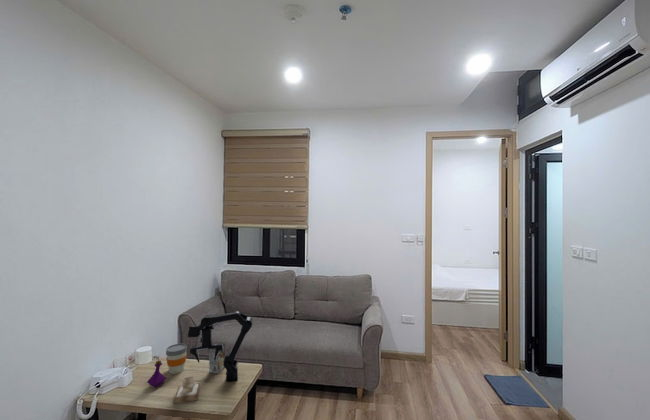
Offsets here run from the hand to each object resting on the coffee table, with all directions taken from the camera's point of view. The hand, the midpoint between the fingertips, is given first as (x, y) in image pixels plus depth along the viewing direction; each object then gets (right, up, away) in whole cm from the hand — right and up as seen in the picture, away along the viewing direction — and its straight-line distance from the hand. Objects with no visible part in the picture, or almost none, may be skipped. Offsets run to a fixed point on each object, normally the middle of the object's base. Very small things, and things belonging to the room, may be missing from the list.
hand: (206, 361), depth 188 cm
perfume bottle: (-29, -13, -4) cm, 32 cm away
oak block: (-5, -9, -15) cm, 18 cm away
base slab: (-5, -12, -15) cm, 20 cm away
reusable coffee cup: (-25, -13, +14) cm, 32 cm away
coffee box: (+2, -12, +14) cm, 19 cm away
